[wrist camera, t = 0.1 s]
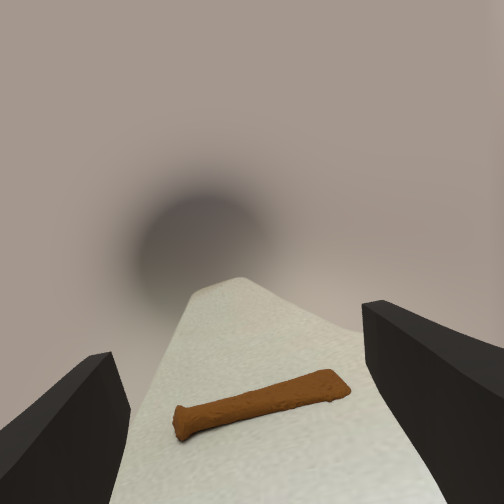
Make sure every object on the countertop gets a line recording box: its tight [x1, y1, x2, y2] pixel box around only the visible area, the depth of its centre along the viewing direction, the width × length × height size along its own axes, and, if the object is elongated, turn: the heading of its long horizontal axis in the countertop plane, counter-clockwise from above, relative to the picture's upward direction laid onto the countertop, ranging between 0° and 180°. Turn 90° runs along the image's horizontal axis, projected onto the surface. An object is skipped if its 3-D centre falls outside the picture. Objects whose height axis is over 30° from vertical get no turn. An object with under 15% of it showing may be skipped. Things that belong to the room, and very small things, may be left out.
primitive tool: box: [172, 369, 351, 441], centre depth 41 cm, size 19×6×4 cm, turn 107°
